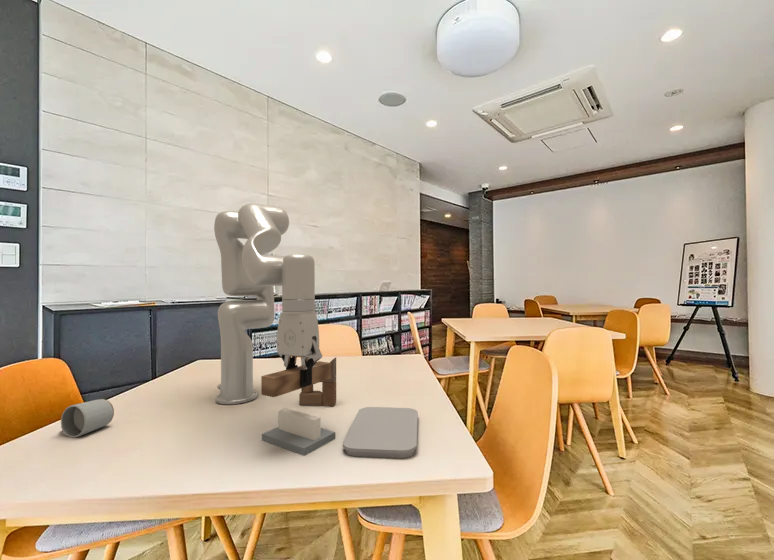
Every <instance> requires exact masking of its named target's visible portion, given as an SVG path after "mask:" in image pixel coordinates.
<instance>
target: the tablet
mask: <svg viewBox="0 0 774 560" xmlns="http://www.w3.org/2000/svg"><path fill="white" fill-rule="evenodd" d="M418 413H419V412H418V410H417V409H415V408H411V407H388V406H387V407H384V406H382V407H381V406H379V407H378V406H365V407H361V408H360V409H359V410H358V411H357V413H356V415H355V417H354V419H353V420H352V423H351V425H350V426H349V428H348V431H347V432H346V434H345V436H344V439H343V440H342V448H343V449H344V450H345V454H347V455H349V456H351V457H352V456H353V457H373V458H375V457H376V458H394V459H395V458H398V459H403V458H410V457H411V456H413V455H414V453H415V451H416V450H417V448H418V447H417V445H418V443H417V442H418V418H419V417H418V416H419V414H418Z"/></svg>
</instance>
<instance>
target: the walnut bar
mask: <svg viewBox="0 0 774 560" xmlns="http://www.w3.org/2000/svg"><path fill="white" fill-rule="evenodd" d="M300 370H302V366H301V365H299V366H298V367H295V368H291V369H287V370H286V369H284V370H280V371H277V372H272V373H268V374H264V375H262V376H261V379H260V380H261V387H260V388H261V395H262V396H267V397H271V398H276V397H280V396H282V395H286V394H289V393H292V392H295V391H298V390H300V389H301V388H304V387H301V386H300ZM328 379H331V363H330V361H329V362H328V361H327V362H326V361H322V360H321V361H320V360H318V361H317V362H316V363H315V365H314V367H313V368H312V384H311V385H313V386H314V385H316V384H319V383H323V382H322V381H325V380H328ZM309 386H310V385H309ZM306 387H307V386H306Z"/></svg>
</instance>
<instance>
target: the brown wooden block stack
mask: <svg viewBox="0 0 774 560" xmlns="http://www.w3.org/2000/svg"><path fill="white" fill-rule="evenodd" d="M306 361H308V358H306ZM329 363H331V379H328V380H325V381H322V382H321V383H322V388H321V390H322V391H320V390H314V384H313V385H310V386H307V387H304V388H301V390H300V391H301V392H299V395H298V396H299V397H298V398H299V400H298V403H299V405H300V406H317V407H318V406H321V407H322V406H323V407H334V406H335V405H336V404H337V357H336V356H335V357H334V358H332V359H331V360H330V361H329ZM300 366H302V363H301V365H300Z"/></svg>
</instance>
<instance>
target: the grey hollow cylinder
mask: <svg viewBox="0 0 774 560" xmlns="http://www.w3.org/2000/svg"><path fill="white" fill-rule="evenodd" d="M114 415H115V410H114V406H113V404H112V402H110V401H109V400H107V399H105V398H101V399H94V400H89V401H84V402H80V403H76V404H72V405H69V406H67V407H66V408H65V409H64V411H63V412H62V414H61V418H60V425H61V426H60V428H61V430H62V432H63V433H64V435H66V436H67V437H69V438H79V437H80V436H84V435H86V434H89V433H91V432H93V431H97V430H99V429H102V428H104V427H106V426H107V425H109V424H110V423H111V422H112V421H113V418H114Z"/></svg>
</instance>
